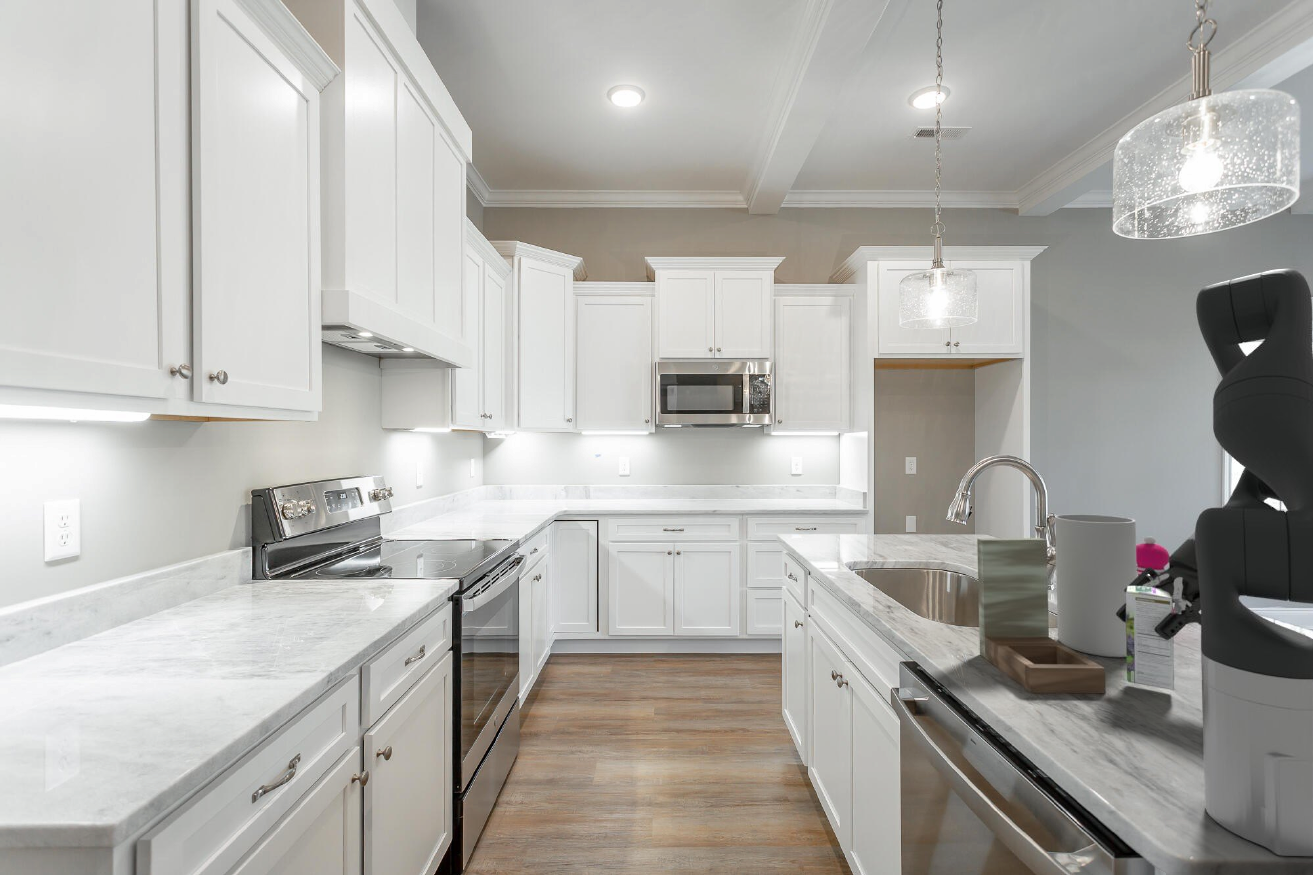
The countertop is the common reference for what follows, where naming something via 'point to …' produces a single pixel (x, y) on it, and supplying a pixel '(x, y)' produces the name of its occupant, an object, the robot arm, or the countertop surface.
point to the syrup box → (1148, 638)
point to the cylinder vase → (1093, 581)
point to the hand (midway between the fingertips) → (1140, 626)
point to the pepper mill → (1151, 556)
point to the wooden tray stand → (1026, 620)
